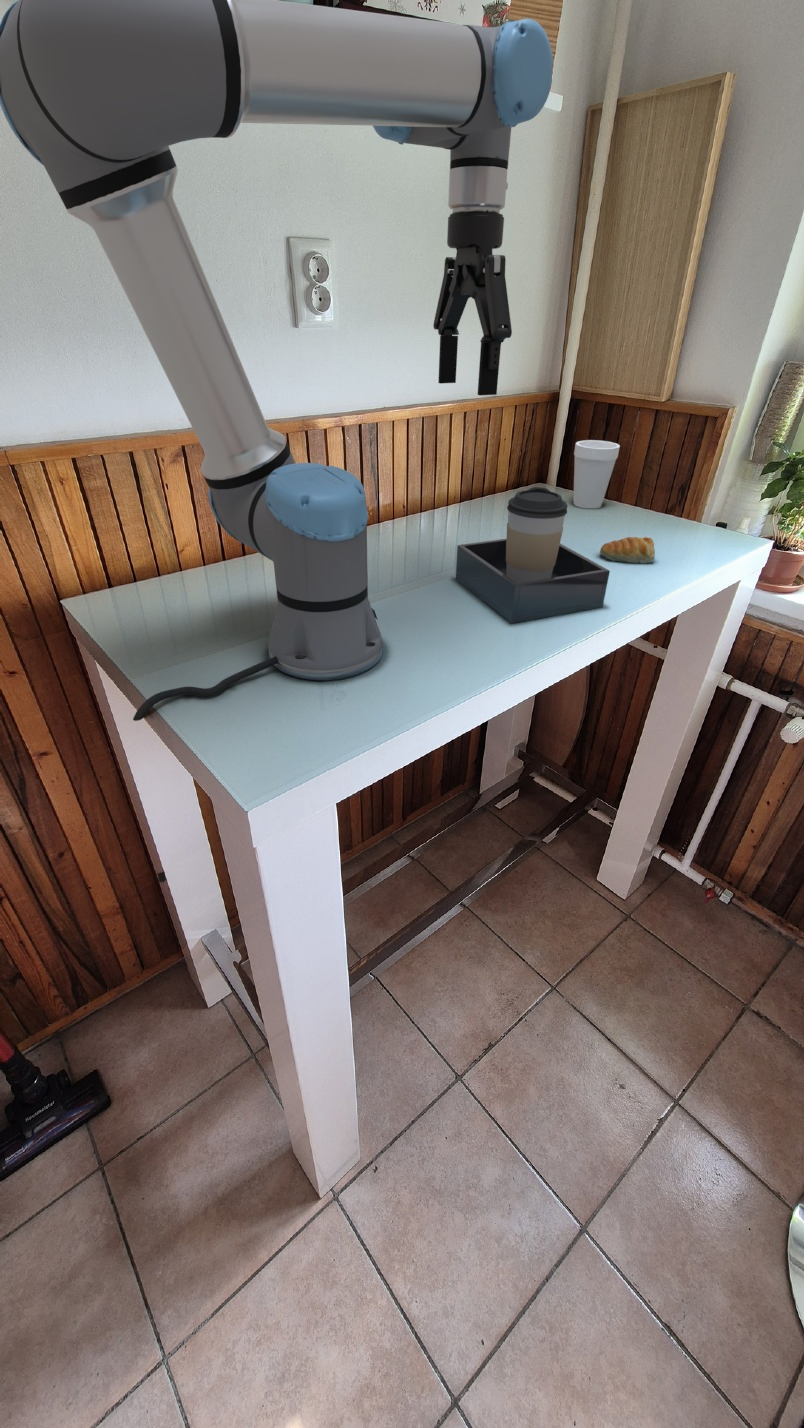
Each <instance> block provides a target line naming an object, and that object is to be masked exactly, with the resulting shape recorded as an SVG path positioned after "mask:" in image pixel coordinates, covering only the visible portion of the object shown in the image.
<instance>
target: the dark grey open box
mask: <svg viewBox="0 0 804 1428" xmlns="http://www.w3.org/2000/svg"><path fill="white" fill-rule="evenodd" d="M506 539H507V538H499V539H493V540H485V541H477V542H471V543H462V544H457V545H456V546H457V547H456V548H457V549H456V562H455V563H456V564H455V565H456V567H455V580H456V581H457V582H458V583H460V584H461V585H462V586H463V587H464V588H466V589H467V590H469V591H470V593H472V594H473V595H474V596H475V597H477V598H478V599H479V600H480V601H482V602H483V603H485V604H486V605H487V606H488V607H489V608H491V609H492V610H493V611H494V612H496V613H497V614H498V615H500V616H501V617H502V618H503V619H504V620H506V621H507V622H509V623H510V624H512V625H513V624H518V623H523V622H529V621H533V620H539V619H545V618H550V617H556V616H561V615H566V614H573V613H577V612H582V611H583V612H584V611H588V610H595V609H600V608H603V607H604V602H605V598H606V591H607V588H608V581H609V576H610V572H611V571H610V570H609V569H608V568H606V567H604V566H602V565H600V564H598V563H597V562H595V561H594V560H591V559H589V558H588V557H586V556H584V555H582V554H581V553H578V552H577V551H575V550H573V549H571V548H569V547H568V546H567V545H564V544H562V543H560V545H559V549H558V554H557V558H556V563H555V566H554V567H553V571H552V576H551V578H547V579H541V580H535V581H529V582H522V583H516V582H515V581H513V580H512V579H510V578H509V577H508V576H506V567H507V563H506Z"/></svg>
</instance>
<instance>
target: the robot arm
mask: <svg viewBox="0 0 804 1428" xmlns="http://www.w3.org/2000/svg"><path fill="white" fill-rule="evenodd" d="M553 67H554V58H553V51H552V47H551V41H550V39H549V37H548V34H547V33H546V31H545V29H544V27H543V26H542V25H541V24H540V23H539V22H537V20H534V19H532V18H523V19H519V20H518V19H517V20H511V19H509V20H506V21H505V22H504V23H503V24H502V25H499V26H491V27H490V26H483V25H482V26H481V25H475V24H474V25H473V24H460V23H456V22H448V21H440V20H432V19H424V18H416V17H410V16H401V15H395V14H394V15H393V14H388V13H387V14H386V13H378V12H371V11H363V10H354V9H347V8H340V7H333V6H325V5H317V4H311V3H310V4H309V3H301V2H295V1H294V2H293V1H285V0H16V1H14V2H13V3H12V4H11V5H10V6H9V8H7V10H6V11H5V13H4V14H3V16H2V18H1V20H0V108H1V110H2V113H3V115H4V117H5V120H6V121H7V124H8V125H9V127H10V129H11V131H12V132H13V133H14V135H15V136H16V138H17V139H18V141H19V142H20V143H21V145H22V146H23V147H24V148H25V150H27V152H28V153H29V154H30V155H31V156H32V157H33V158H34V159H35V160H36V161H37V162H38V163H39V164H41V165H42V166H43V167H44V169H45V171H46V174H47V175H48V177H49V179H50V181H51V182H52V185H53V186H54V189H55V190H56V192H57V193H58V196H59V198H60V199H61V202H62V204H63V205H64V208H65V209H66V211H67V213H68V214H69V215H71V216H73V217H75V218H76V219H78V220H80V221H82V222H84V223H85V224H87V226H89V227H91V228H92V229H93V231H94V233H95V235H96V237H97V239H98V241H99V243H100V245H101V247H102V249H103V251H104V253H105V256H106V257H107V259H108V261H109V263H110V265H111V267H112V269H113V271H114V274H115V276H117V279H118V282H119V283H120V285H121V287H122V289H123V291H124V293H125V296H126V298H127V300H128V301H129V303H130V305H131V308H132V309H133V311H134V313H135V315H136V318H137V319H138V321H139V323H140V326H141V328H142V329H143V331H144V333H145V335H146V338H147V340H148V342H149V343H150V345H151V347H152V349H153V352H154V354H155V355H156V358H157V359H158V362H159V363H160V367H162V370H163V372H164V373H165V376H166V378H167V380H168V382H169V384H170V385H171V388H172V390H173V391H174V394H175V395H176V398H177V400H178V402H179V403H180V405H181V408H182V410H183V412H184V413H185V416H186V418H187V420H188V422H189V423H190V426H191V428H192V430H193V432H194V434H195V436H196V438H197V440H198V442H199V445H200V446H201V448H202V450H203V452H204V457H203V461H202V463H201V466H200V473H201V475H202V476H203V479H204V480H205V483H206V484H207V486H208V490H207V493H208V494H207V495H208V502H209V507H210V509H211V512H212V514H213V516H214V518H215V520H216V521H217V523H218V524H219V526H221V528H222V529H223V530H224V531H225V532H226V533H227V534H228V535H229V536H230V537H231V538H233V539H234V540H235V541H237V542H239V543H241V544H243V545H245V546H246V547H249V548H250V549H252V550H254V551H255V552H257V553H259V554H260V555H261V556H263V557H265V558H267V559H268V560H270V561H271V562H272V563H273V569H274V580H275V587H276V588H275V589H276V598H277V599H276V600H277V604H276V607H275V612H274V616H273V621H272V624H271V629H270V633H269V637H268V647H267V649H268V655H269V656H268V657H269V658H268V659H265V660H263V661H261V662H259V663H257V664H255V665H254V664H253V665H252V666H250V667H247V668H245V669H242V670H241V671H238V672H236V673H234V674H231V675H230V676H227V677H226V678H224V679H222V680H221V681H219V682H218V683H217V684H216V685H214V686H211V687H206V688H203V687H197V686H181V687H177V688H171V689H167V690H163V691H160V692H157V693H155V694H153V695H151V696H150V697H149V698H147V699H146V700H145V701H144V702H143V703H142V704H141V706H140V707H139V708H138V709H137V710H136V712H135V714H134V716H133V718H132V720H133V722H137V721H141V720H143V719H144V718H145V716H146V715H147V713H148V712H149V711H150V710H151V709H152V708H153V707H154V706H155V705H156V704H158V703H159V702H162V701H164V700H167V699H171V698H175V697H180V696H184V695H190V696H191V695H192V696H197V697H198V696H199V697H210V696H215V695H218V694H220V693H221V692H223V691H224V690H225V689H226V688H228V687H229V686H231V685H233V684H235V683H237V682H239V681H242V680H244V679H247V678H249V677H251V676H253V675H255V674H257V673H259V672H262V671H264V670H266V669H268V668H271V667H273V666H274V667H275V668H276V669H277V670H278V671H280V672H282V673H283V674H286V675H289V676H291V677H295V678H298V679H304V680H311V681H331V680H339V679H346V678H349V677H353V676H356V675H359V674H362V673H364V672H366V671H367V670H369V669H372V668H373V667H375V666H376V665H377V664H378V662H379V661H380V659H381V658H382V655H383V639H382V638H383V637H382V633H381V630H380V628H379V624H378V622H377V621H378V617H377V614H376V611H375V609H373V608H372V606H371V603H370V600H369V589H368V585H369V580H368V579H369V577H368V575H369V574H368V571H369V569H368V520H369V512H368V507H367V499H366V492H365V488H364V485H363V484H362V482H361V481H360V479H359V478H358V476H356V475H354V474H353V473H351V471H348V470H346V469H344V468H340V467H339V466H334V465H323V463H316V462H297V463H296V461H295V459H294V457H293V453H292V450H291V449H290V446H289V444H288V441H287V439H286V436H285V435H284V434H283V433H281V432H279V431H276V430H274V429H272V428H270V427H269V426H268V424H267V421H266V419H265V417H264V415H263V412H262V409H261V407H260V404H259V402H258V401H257V397H256V395H255V393H254V391H253V390H254V389H253V387H252V385H251V383H250V380H249V378H248V376H247V372H246V371H245V368H244V366H243V364H242V361H241V358H240V356H239V354H238V352H237V349H236V346H235V345H234V342H233V340H232V337H231V335H230V333H229V330H228V327H227V325H226V321H225V320H224V318H223V315H222V313H221V310H220V307H219V305H218V303H217V300H216V299H215V296H214V294H213V291H212V288H211V286H210V284H209V281H208V279H207V277H206V275H205V272H204V269H203V267H202V264H201V262H200V260H199V257H198V255H197V252H196V250H195V248H194V245H193V242H192V240H191V238H190V235H189V233H188V231H187V229H186V226H185V223H184V220H183V219H182V215H181V214H180V210H179V209H178V206H177V204H176V201H175V199H174V189H175V184H176V180H177V176H178V172H179V169H178V166H177V164H176V161H175V159H174V156H173V153H172V150H171V148H170V146H172V145H176V144H179V143H182V142H187V141H193V140H197V139H208V138H209V139H211V138H215V139H216V138H217V139H218V138H220V139H228V138H231V137H232V136H234V135H235V134H236V132H237V131H238V129H239V127H240V125H241V124H272V125H273V124H274V125H275V124H276V125H277V124H278V125H279V124H280V125H321V126H322V125H326V126H368V127H371V126H372V128H373V130H374V131H375V133H376V134H377V135H378V136H379V137H380V138H381V139H384V140H388V141H391V142H395V143H398V144H399V145H404V144H407V145H416V146H424V147H432V148H440V149H444V150H449V152H450V154H449V159H450V160H449V161H450V163H449V177H448V201H447V202H448V203H447V206H448V208H449V209H450V210H451V211H452V213H450V214H449V216H448V217H447V234H446V235H447V238H446V244H447V246H448V248H449V249H455V250H456V253H455V254H456V255H455V256H454V257H453V256H446V257H445V259H444V265H443V266H444V268H443V278H442V282H441V287H440V291H439V296H438V300H437V306H436V309H435V310H436V311H435V315H434V319H433V320H434V321H433V329H434V330H436V331H437V333H438V334H437V335H439V359H438V382H437V383H438V384H456V383H457V363H458V345H459V343H458V342H459V335H460V332H459V329H458V326H459V324H460V321H461V319H462V316H463V313H464V312H465V308H466V306H467V303H468V300H469V299H470V298H472V299H473V300H474V303H475V307H476V311H477V315H478V319H479V323H480V326H481V330H482V335H483V336H482V337H481V339H480V351H479V352H480V353H479V367H478V382H477V396H496V395H498V384H499V383H498V382H499V371H500V360H501V349H502V343H504V341H505V340H506V339H510V338H511V337H512V334H513V332H512V331H513V329H512V323H511V321H512V320H511V314H510V313H511V312H510V305H509V297H508V289H507V288H508V287H507V281H506V256H505V255H503V254H493V250H495V249H500V248H501V247H502V245H503V239H504V226H505V225H504V224H505V217H504V215H503V214H502V213H500V211H501V210H503V209H504V208H505V207H506V195H507V190H508V187H509V184H508V169H509V157H510V147H511V146H510V145H511V138H512V137H511V135H512V128H516V126H518V125H520V124H521V123H525V122H529V121H530V120H532V119H534V118H535V117H537V116H538V115H539V113H540V112H541V111H542V110H543V108H544V107H545V104H546V103H547V100H548V98H549V95H550V92H551V88H552V83H553ZM156 875H157V879H158V882H159V883H165V882H166V881H167V877H166V872H165V871H162V872H158V873H157V874H156Z"/></svg>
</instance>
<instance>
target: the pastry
mask: <svg viewBox="0 0 804 1428" xmlns="http://www.w3.org/2000/svg"><path fill="white" fill-rule="evenodd" d="M599 554H600V555H602V556H603V557H604V558H606V559H608V560H610V561H613V562H622V563H629V564H637V563H640V564H649V563H653V562H652V561H654V559H655V556H656V550H655V542H654V540H653V538H652V537H647V536H644V537H637V536H627V537H624V538H621V539H618V540H615V539H613V540H612V541H609V542H607V543H604V544H603V545H601V548H600V550H599Z"/></svg>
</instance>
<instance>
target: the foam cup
mask: <svg viewBox="0 0 804 1428" xmlns="http://www.w3.org/2000/svg"><path fill="white" fill-rule="evenodd" d="M620 447H621V445H620V444H619V443H616V442H612V441H609V440H599V439H598V440H597V439H596V440H595V439H585V440H579V441H578V440H577V441H576V442H575V445H574V450H573V456H574V465H573V466H574V467H573V468H574V469H573V470H574V471H573V502H572V503H573V505H574V506H576V507H577V508H583V509H599V508H601V507H602V505H603V502H604V499H605V496H606V493H607V490H608V487H609V482H610V479H611V477H612V474H613V471H614V468H615V464H616V461H617V459H618V458H619V452H620Z"/></svg>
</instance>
